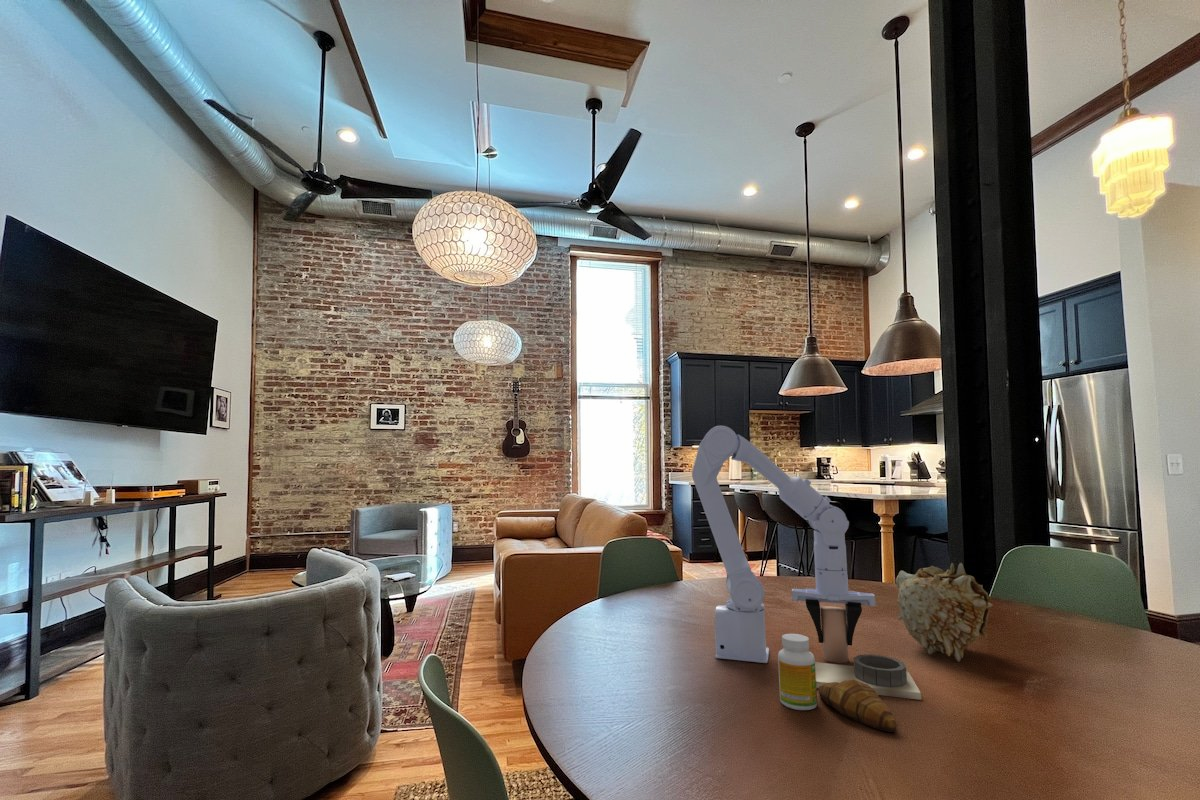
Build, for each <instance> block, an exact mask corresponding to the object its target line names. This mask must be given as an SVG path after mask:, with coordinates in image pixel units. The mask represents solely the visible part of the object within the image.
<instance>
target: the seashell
mask: <svg viewBox="0 0 1200 800" xmlns="http://www.w3.org/2000/svg"><path fill="white" fill-rule="evenodd" d="M895 584H896V587H897V589H898V593H897V600H896V603H897V604H898V607H899V611H900V613H899V615H898V617H897V620H899V621H900V620H902V621H903V624H904V626H905V627H906V630H907V631H908V634H909V635H910V636H911V637H912V638H913V639H914V640H915V641H916V642H917V643H918V644H919V645H921V646H922V647H924V648H925V649H926V650H927V653H928V655H932V654H934V653H935V652H941V654H944V653H945V654H946V655H947V656H948V657H951V655H952V654H953V657H954V658H955V660H956V662H958V663H960V662H961V660H962V659H963V658H964V650H965V648H967V647H968V646H970V645H971V644H972V643H974V642H976V640H977V639H978V637H979V636H981V637H984V638H988V635H987V633H986V629H987V628H988V620H989V615H990V609H991V608H992V607H993V606H994V604H993V603H992V597H991V596H989V594H988V592H987V591H986V590H985V589H984V588H983V584H979V583H978V582H977V580H976V578H975V577H974V576H972V575H969V574H967V573H966V570H965V568H964V565H963V563H962V562H959V564H958V566H957V570H955V565H954V563H953V562H951V564H950V567H949V568H947V570H946V571H945V570H943V569H941V568H939V567H937V566H934V565H930V566H929V567H921V568H919V569H917V571H916V573H915V574H911V573H907V572H906V571H904V570H900V571H899V572H898V575H897V576H896V578H895Z"/></svg>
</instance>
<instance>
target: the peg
mask: <svg viewBox="0 0 1200 800" xmlns="http://www.w3.org/2000/svg"><path fill="white" fill-rule="evenodd" d="M820 614H821V630H822V637H823V643H822V658H823V659H824V660H825V661H827V662H830V663H833V664H846V663H848V662H849V661H850V660H849V659H850V658H849V657H850V656H849V645H848V640H847V619H846V608H842V607H839V606H830V605H829V606H826V605H825V606H820Z"/></svg>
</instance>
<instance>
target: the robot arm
mask: <svg viewBox="0 0 1200 800" xmlns="http://www.w3.org/2000/svg"><path fill="white" fill-rule="evenodd" d="M696 452H697V453H696V456H695V460H694V463H693V466H692V467H693V468H692V472H691V477H692V480H693V483H694V485H695V489H696V493H698V497H699V499H700V500H699V501H700V502H701V505H702V507H703V508H702V509H703V511H704V514H705V516H706V519H707V522H708V524H709V527H710V530H711V533H712V536H713V538H714V542H715V545H716V547H717V549H718V553H719V555H720V558H721V561H722V563H723V567H724V569H725V572H726V579H725V580H726V581H725V584H726V589H727V591H728V593H729V597H728V599H727V601H726V602H725V604H724V605H722V604H720V605H716V607H715V611H714V643H715V654H714V655H715V658H716V659H724V660H730V661H731V660H733V661H742V662H752V663H753V662H754V663H763V664H767V663H769V656H770V648H769V647H768V646H767V640H766V639H767V637H766V636H767V635H766V615H765V613H766V612H765V604H764V603H763V602H764V599H765V588H764V586H763V584H762V583H761V581H760V580H759V579H758V577H757V576H756V574H755V573H754V572H753V571H752V569H751V566H750V563H749V561H748V559H747V557H746V554H745V551H744V549H743V545H742V543H741V541H740V538H739V535H738V533H737V529H736V528H735V524H734V522H733V518H732V517H731V514H730V511H729V508H728V505H727V503H726V500H725V498H724V495H723V492H722V489H721V486H720V485H719V481H718V475H719V474H720V472H721V470H722V467H723V466H724V463H725V462H726V461H728V460H729V458H730V460H733V461H737V462H742V463H745V464H747V465H748V466H750V467H751V468H753V470H754V471H756V472H757V473H758V474H760V475H761V476H762V477H763V478H765V479H766V480H767V481H768V482H769V483H771V484H772V485H773V486H775V487H776V488H778V493H779V495H778V496H779V499H780V500H781V501H782V502H784V503H785V504H786V506H788V507H789V508H791V509H792V510H793V511H795V513H797V514H798V515H799V516H800V517H801V518H802V519H803V520H805V521H808V524H809V526H810V527H811V528H812V529H814V530H813V555H814V556H813V558H814V577H815V588H792V589H791V600H792V602H799V601H801V602H803V601H804V602H805V606H806V610H807V611H808V614H809V615H810V617H811V619H812V621H813V625H814V627H815V630H816V634H817V640H818V643H820V644H823V637H822V624H821V605H820V604H821V603H831V604H844V606H845V610H846V623H847V640H848V646H853V639H854V633H855V630H856V626H857V623H858V621H859V620H860V617H861V615H862V612H863V607H862V606H869V607H876V596H875V594H874V593H869V592H860V591H853V590H849V580H848V563H847V545H846V540H845V539H846V537H845V536H846V535H845V534H846V532H847V530H848V529H849V526H850V521H849V520H848V518H847V516H846V513H845V512H844V511H843V510H842V509H841V508H839V507H838V506H835V505H832V504H830V502H831V499H830V497H828V496H826V495H825V496H823V495H822V494H821V493H820V492H818V491H817V490H816V489H815V488H813V487H812V486H811V484H812V482H811V481H810V480H809V479H808V478H802V477H800V476H789V475H788V474H787V473H785V472H784V470H782V469H781V468H780V467H779V466H778V465H777V464H776V463H775V462H773V461H772V460H771V459H770V458H769V457H768V456H767V455H765V453H763V451H761V450H760V449H758V447H757V446H755V445H754V444H753V443H752V442H750V441H749V440H748V439H746V438H745V437H744V436H742V435H740V434H739V433H738V434H736V432H735V431H734V430H733V429H732V428H730V427H728V426H727V425H716V426H714V427H712V428H710V429H709V430H708V431H707V433H706V434H705V435H704V436H703V439H702V440H701V441H700V443H699V445H698V447H697V451H696Z"/></svg>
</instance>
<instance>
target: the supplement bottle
mask: <svg viewBox="0 0 1200 800" xmlns="http://www.w3.org/2000/svg"><path fill="white" fill-rule="evenodd" d="M781 645H782V647H783V648H782V649H780V650H779V651H778V654H777V664H778V683H779V684H778V688H779V701H780V703H781V704H782V705H784V706H785V707H787V708H789V709H792V710H796V711H811V710H814V709H816V708H817V706H818V695H817V693H818V692H817V688H816V671H815V662H816V659H815V655H814V654H813V653H812V652H811V651H809V649H810V639H809V637H808V636H805V635H803V634H799V633H785V634H782V635H781Z"/></svg>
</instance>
